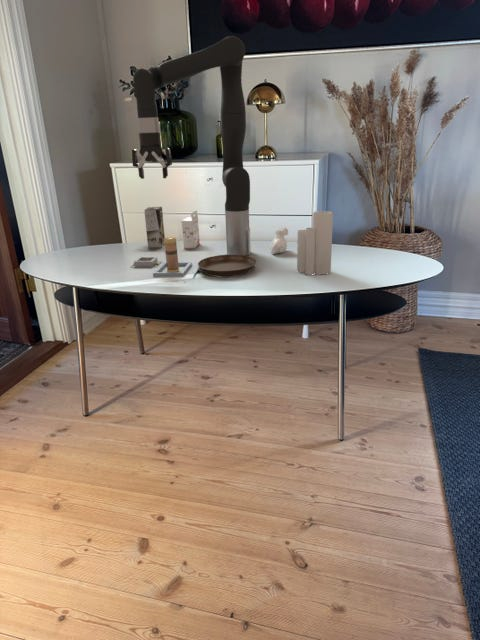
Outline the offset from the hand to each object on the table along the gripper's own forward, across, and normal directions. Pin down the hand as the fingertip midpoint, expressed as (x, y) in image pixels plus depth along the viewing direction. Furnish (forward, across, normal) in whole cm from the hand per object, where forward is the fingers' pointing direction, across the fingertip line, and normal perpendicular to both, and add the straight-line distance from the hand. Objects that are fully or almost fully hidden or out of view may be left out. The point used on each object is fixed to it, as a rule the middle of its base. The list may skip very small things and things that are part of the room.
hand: (153, 178), depth 178 cm
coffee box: (+30, -8, +22) cm, 38 cm away
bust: (+30, +46, +8) cm, 56 cm away
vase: (+30, +59, -21) cm, 70 cm away
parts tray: (+30, +11, -24) cm, 40 cm away
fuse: (+30, +11, -24) cm, 40 cm away
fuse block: (+30, -1, -16) cm, 34 cm away
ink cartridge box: (+30, +8, +20) cm, 37 cm away
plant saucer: (+31, +29, -18) cm, 46 cm away
